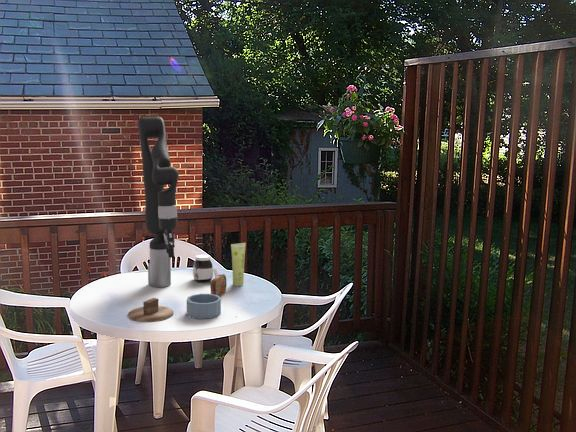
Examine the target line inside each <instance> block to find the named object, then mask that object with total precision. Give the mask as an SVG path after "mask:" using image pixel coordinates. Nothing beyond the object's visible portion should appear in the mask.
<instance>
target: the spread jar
mask: <svg viewBox="0 0 576 432" xmlns="http://www.w3.org/2000/svg"><path fill="white" fill-rule="evenodd" d="M192 273H193V274H192V276H193V279H194V281H195V282H197V283H209V282H210V281H212V280H213V275H214V278H215V277H216V276H217V275H220V274H219V272H218V269H217V267H216V266H213V263H212V261H211V255H210V254H209V255H208V254H197V255H195V260H194V262H193V265H192Z"/></svg>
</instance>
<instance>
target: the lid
mask: <svg viewBox="0 0 576 432" xmlns="http://www.w3.org/2000/svg"><path fill="white" fill-rule="evenodd" d="M127 316H128V318H129V319H130V320H132V321H136V322H140V323H142V322H143V323H152V322H153V323H154V322H160V321H164V320H167V319H170V318H172V316H174V310H173V309H172V308H170V307H166V306H162V305H159V298H156V297H152V298H150V299H146V300H145V301H143V305H142V306H139V307H136V308H133V309H130V310H129V312H128V314H127Z"/></svg>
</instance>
